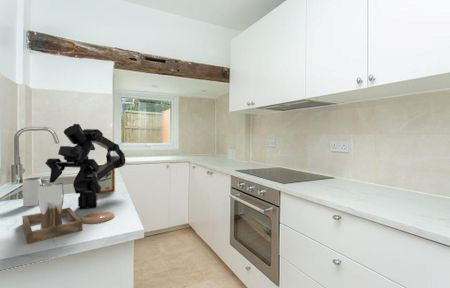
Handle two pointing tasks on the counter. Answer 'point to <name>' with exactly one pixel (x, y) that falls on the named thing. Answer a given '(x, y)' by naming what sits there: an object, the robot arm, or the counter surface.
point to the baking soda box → (107, 181)
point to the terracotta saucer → (97, 217)
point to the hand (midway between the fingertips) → (62, 183)
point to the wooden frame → (51, 231)
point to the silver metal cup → (50, 203)
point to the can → (31, 191)
